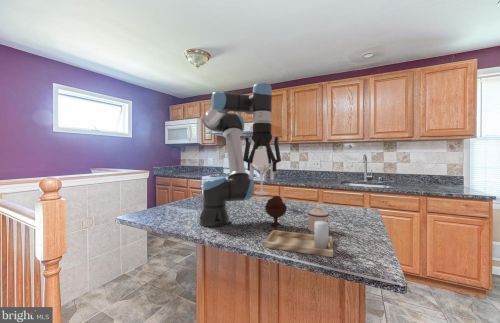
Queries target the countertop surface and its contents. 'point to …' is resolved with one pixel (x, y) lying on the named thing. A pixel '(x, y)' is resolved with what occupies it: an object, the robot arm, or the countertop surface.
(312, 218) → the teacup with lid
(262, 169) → the wineglass
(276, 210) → the ice cream bowl
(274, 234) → the tray
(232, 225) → the countertop surface
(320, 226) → the white rounded capsule
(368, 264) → the countertop surface
